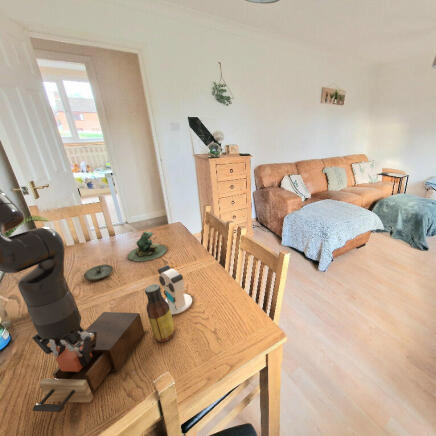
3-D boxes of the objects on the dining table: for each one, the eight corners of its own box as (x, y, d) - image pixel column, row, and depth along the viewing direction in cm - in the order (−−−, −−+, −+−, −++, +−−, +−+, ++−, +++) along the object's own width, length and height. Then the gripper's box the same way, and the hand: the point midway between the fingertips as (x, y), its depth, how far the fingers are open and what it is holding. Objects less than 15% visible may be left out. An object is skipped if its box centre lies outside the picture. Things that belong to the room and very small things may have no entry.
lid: (107, 269, 115) (102, 260, 113) (118, 270, 110) (114, 261, 109) (82, 282, 106) (77, 272, 105) (93, 283, 102) (88, 273, 100)
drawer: (74, 423, 55) (65, 405, 53) (29, 422, 55) (18, 403, 53) (123, 357, 71) (117, 340, 69) (88, 355, 71) (81, 339, 69)
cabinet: (117, 371, 68) (109, 350, 65) (76, 370, 68) (66, 348, 65) (144, 332, 81) (139, 312, 77) (110, 331, 80) (103, 311, 77)
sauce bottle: (177, 326, 83) (168, 280, 76) (172, 342, 78) (162, 293, 70) (157, 328, 82) (146, 281, 75) (150, 344, 76) (138, 294, 69)
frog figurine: (172, 252, 129) (169, 233, 125) (135, 265, 116) (130, 244, 112) (158, 241, 139) (155, 223, 135) (123, 252, 127) (117, 233, 122)
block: (61, 371, 59) (55, 358, 58) (76, 355, 64) (71, 343, 62) (78, 371, 59) (73, 359, 58) (92, 355, 64) (88, 344, 62)
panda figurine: (154, 304, 93) (146, 272, 87) (181, 289, 101) (176, 259, 96) (169, 319, 86) (162, 285, 81) (197, 302, 95) (193, 270, 89)
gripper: (98, 301, 58) (114, 351, 65) (40, 299, 58) (62, 349, 65) (72, 325, 52) (93, 378, 58) (5, 322, 51) (34, 376, 58)
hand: (76, 362), depth 61 cm, fingers closed on block, 4 cm apart
